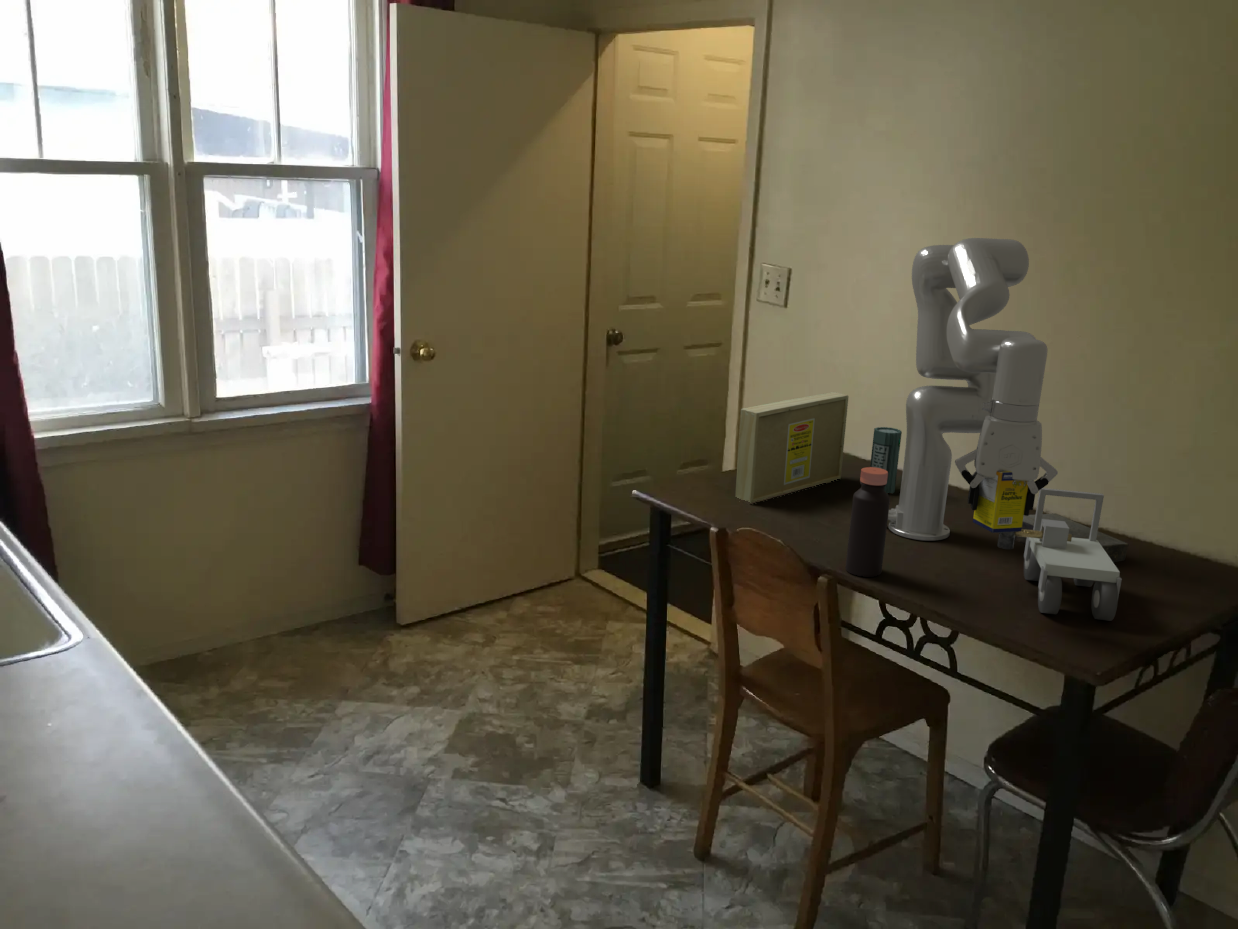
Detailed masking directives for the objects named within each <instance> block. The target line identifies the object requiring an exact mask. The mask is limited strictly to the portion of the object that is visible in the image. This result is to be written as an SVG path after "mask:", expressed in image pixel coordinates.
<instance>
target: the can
mask: <svg viewBox="0 0 1238 929" xmlns="http://www.w3.org/2000/svg"><path fill="white" fill-rule="evenodd" d="M872 437H873V438H872V447H871V454H870V463H869V467H875V468H881V469H884V470H886V471H888V478H887V484H886V487H885V488H884V490H885V492H886V493H892V494H895V490H896V481H897V474H898V468H899V467H898V465H899V458H900V449H901V441H902V430H901V429H898V428H894V427H888V426H878V427H875V428H874V429H873V436H872Z"/></svg>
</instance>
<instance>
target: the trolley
mask: <svg viewBox="0 0 1238 929" xmlns="http://www.w3.org/2000/svg"><path fill="white" fill-rule="evenodd" d="M1046 496H1053V497H1063V498H1075V499H1084V500H1095V502H1094V509H1093V513H1092V519H1091V526H1090V528H1091V530H1090V536H1089V539H1083V538H1073V537H1072V539H1071V542H1068V541H1067V539H1068V533H1069V527H1068V526H1067V524H1066V522H1065V521H1057V520H1047V519H1042V515H1043V514H1044V508H1045V500H1046ZM1104 497H1105V495H1104V494H1103V493H1099V492H1098V493H1097V492H1086V491H1077V490H1069V489H1068V490H1067V489H1057V488H1056V489H1055V488H1048V487H1047V488H1045V487H1043V488H1042V489H1041V490H1039V491H1038V498H1037V503H1036V509H1035V510H1036V511H1035V515H1036V516H1035V522H1034V528H1033V530H1036V531H1044V533H1043V539H1040V538H1030V537H1027V539H1026V545H1025V544H1024V545H1025V547H1024V553H1023V577H1024V579H1025V580H1026V581H1033V582H1038V586H1037V588H1038V590H1037V591H1038V592H1037V606H1038V611H1039V612H1040V613H1041V614H1047V615H1048V614H1050V615H1057V614H1058V613H1059V610H1060V608H1061V603H1062V596H1063V582H1062V581H1063V580H1062V578H1069V579H1073V583H1074V585H1075V586H1077V587H1089V588H1091V587H1092V586H1093V589H1092V593H1091V614H1092V616H1093V618H1094V620H1101V621H1109V622H1110V621H1111V622H1112V621H1113V620H1114V618H1115V616H1116V613H1117V608H1118V602H1119V596H1120V595H1119V594H1120V590H1121V587H1122V586H1121V585H1122V580H1123V579H1122V577H1121V575H1120V573H1121V572H1120V570H1119V568H1118V567H1117V565H1115V562H1112V560H1111V559H1110V557H1109V556H1108V554H1107V553H1106V552H1105V550H1104V549H1103V547H1102V546H1101V544H1100V543H1099V542H1098V540H1096V537H1097V532H1098V531H1099V524H1100V520H1101V514H1102V507H1103V504H1104ZM1040 527H1041V528H1040Z"/></svg>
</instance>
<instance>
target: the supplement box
mask: <svg viewBox="0 0 1238 929" xmlns="http://www.w3.org/2000/svg"><path fill="white" fill-rule="evenodd" d="M1012 477H1013V473H1012V472H1010V471H997V472H996V477H995V478H987V477H985V478H984V479H983V480H982V481H981V482H980V483H979V489H980V491H979V498H978V505H977V510H973V511H974V512H973V518H972V523H974V524H976V525H978V526H980V527H981V528H983V529H984V530H987V531H989V532H990V533H992V534H995V533H998V534H999V533H1001V532H1019V531H1021V529H1022V523H1023V516H1024V510H1025V503H1026V497H1027V490H1028V485H1027V481H1016V480H1014V479H1012Z"/></svg>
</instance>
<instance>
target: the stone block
mask: <svg viewBox="0 0 1238 929" xmlns="http://www.w3.org/2000/svg"><path fill="white" fill-rule="evenodd" d="M1035 516H1036V514H1029V515H1028V516H1025V515H1024V516H1023V523H1022V529H1027V530H1033V528H1034V522H1035ZM1042 519H1047V520H1057V521H1065V522H1066V524H1067V526H1068V527H1069V533H1068V534H1071V535H1072V537H1073V538H1083V539H1089V536H1090V530H1091V527H1089V526H1087V525H1084V524H1082V523H1080V522H1077V521H1075V520H1073V519H1070V518H1068V517H1065V516H1063V515H1061V514H1058V513H1043V515H1042ZM1040 528H1041V527H1040ZM1026 539H1027V537H1020V536H1015V540H1014V542H1018V543H1021V544H1023V545H1026ZM1096 540H1098V542H1099V543H1100V544H1101V546H1102V547H1103V549H1104V550H1105V552H1106V553H1107V554H1108V556H1109V557H1110V559H1111V560H1112V562H1113V563H1118V562H1123V561H1126V557H1127V552H1128V550H1129V543H1128V542H1126V541H1123V540H1121V539H1119V538H1118V539H1117V538H1116V537H1114V536H1111V535H1109V534H1106V533H1103V532H1101V531H1099V530H1098V532H1097V537H1096Z"/></svg>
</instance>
